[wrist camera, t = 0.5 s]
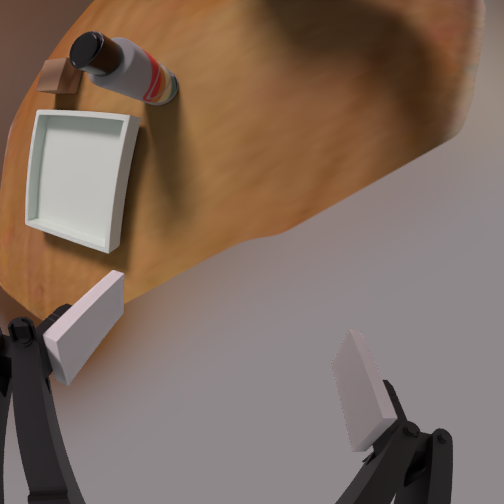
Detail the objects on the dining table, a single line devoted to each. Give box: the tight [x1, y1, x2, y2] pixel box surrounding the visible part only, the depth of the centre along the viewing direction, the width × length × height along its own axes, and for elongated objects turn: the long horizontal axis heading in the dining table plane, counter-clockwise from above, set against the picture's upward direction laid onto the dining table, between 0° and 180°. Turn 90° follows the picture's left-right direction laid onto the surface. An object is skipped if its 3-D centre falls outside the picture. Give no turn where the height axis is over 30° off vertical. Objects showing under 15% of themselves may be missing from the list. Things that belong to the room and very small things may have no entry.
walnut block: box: [36, 58, 83, 94], centre depth 30 cm, size 6×6×6 cm
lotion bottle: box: [70, 31, 178, 105], centre depth 24 cm, size 6×6×20 cm
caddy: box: [25, 110, 141, 254], centre depth 36 cm, size 20×20×5 cm
